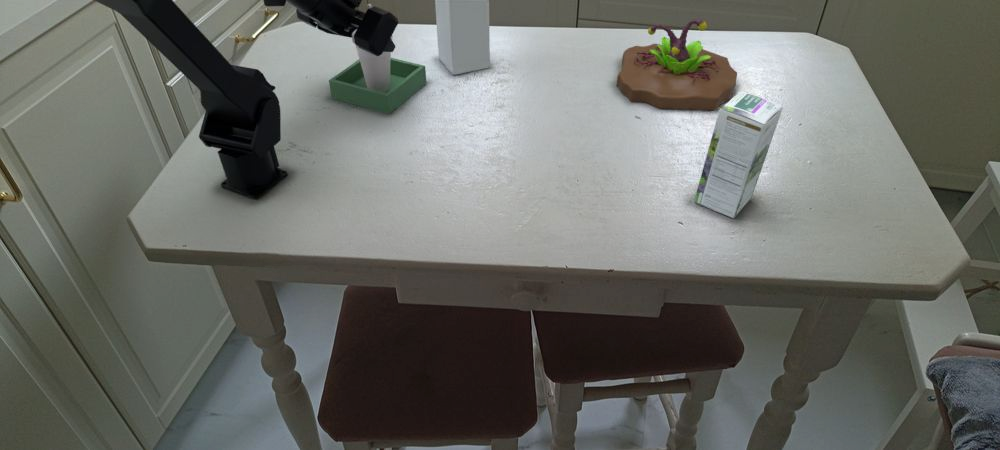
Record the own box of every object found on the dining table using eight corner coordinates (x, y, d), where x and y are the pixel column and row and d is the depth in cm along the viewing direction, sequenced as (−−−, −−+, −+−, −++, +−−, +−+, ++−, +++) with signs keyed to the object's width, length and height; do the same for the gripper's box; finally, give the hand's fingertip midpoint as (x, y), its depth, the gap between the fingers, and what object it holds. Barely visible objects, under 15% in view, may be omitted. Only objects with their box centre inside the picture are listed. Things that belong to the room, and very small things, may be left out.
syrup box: (711, 182, 89) (737, 88, 79) (753, 199, 86) (784, 103, 76) (693, 202, 85) (717, 106, 76) (735, 220, 82) (766, 123, 73)
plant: (734, 118, 101) (753, 52, 94) (611, 102, 105) (619, 37, 98) (733, 63, 116) (749, 2, 109) (625, 50, 120) (633, -10, 113)
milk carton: (438, 59, 117) (431, -49, 105) (474, 52, 119) (471, -55, 107) (453, 76, 112) (447, -36, 100) (490, 68, 114) (489, -42, 102)
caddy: (389, 114, 102) (387, 95, 100) (331, 98, 106) (328, 80, 104) (426, 83, 110) (425, 65, 108) (371, 69, 114) (369, 52, 112)
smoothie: (401, 80, 110) (393, -1, 101) (393, 98, 105) (384, 15, 96) (365, 78, 110) (353, -3, 101) (355, 96, 105) (342, 13, 96)
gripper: (380, -45, 85) (444, 13, 98) (298, -72, 94) (366, -16, 108) (341, 30, 85) (410, 78, 99) (263, -4, 95) (335, 43, 108)
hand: (380, 43), depth 103 cm, fingers closed on smoothie, 6 cm apart
